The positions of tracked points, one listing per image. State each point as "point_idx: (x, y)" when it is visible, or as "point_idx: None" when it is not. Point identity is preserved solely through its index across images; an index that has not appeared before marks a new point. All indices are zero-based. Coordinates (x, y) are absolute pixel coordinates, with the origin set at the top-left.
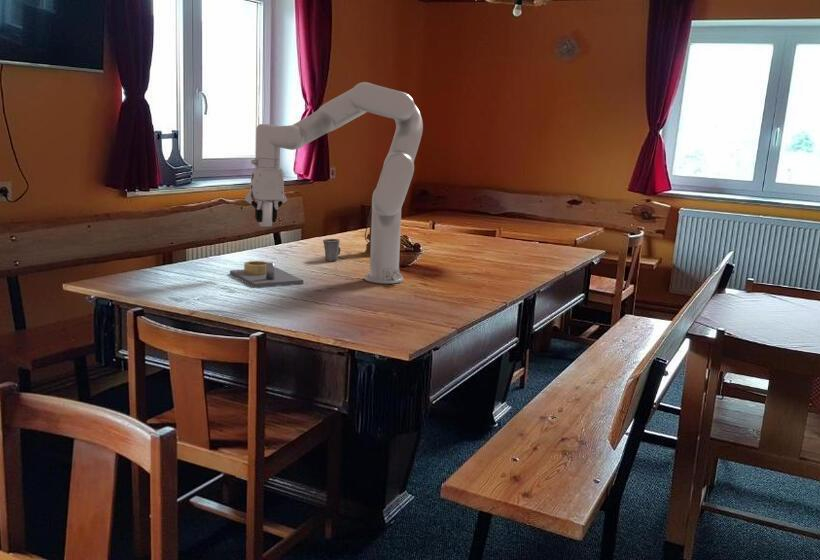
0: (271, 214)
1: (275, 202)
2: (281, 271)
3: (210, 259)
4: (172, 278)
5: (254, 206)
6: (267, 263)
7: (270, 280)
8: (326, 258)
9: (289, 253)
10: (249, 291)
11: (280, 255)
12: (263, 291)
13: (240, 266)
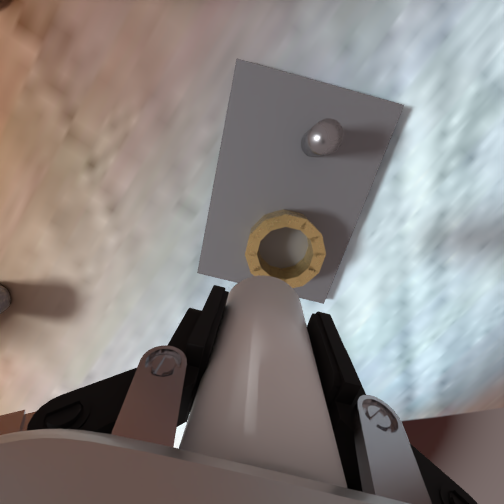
0: (241, 323)
1: (152, 434)
2: (216, 219)
3: None
4: (460, 327)
5: (420, 453)
6: (339, 138)
7: None
8: (6, 300)
9: None
10: (450, 66)
11: None
12: (418, 36)
13: None
